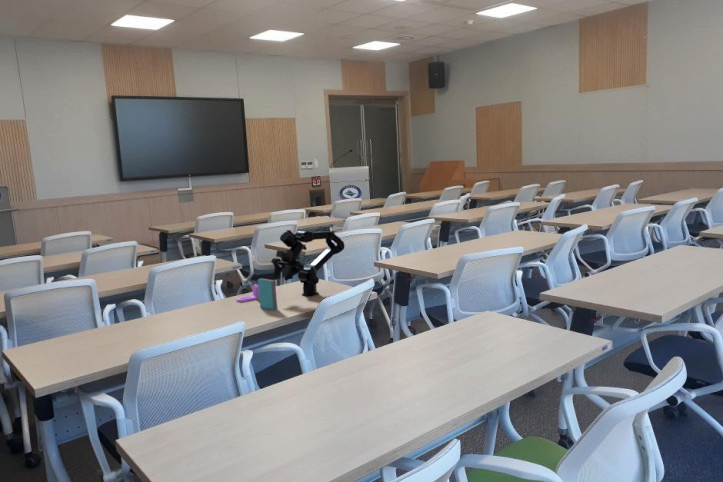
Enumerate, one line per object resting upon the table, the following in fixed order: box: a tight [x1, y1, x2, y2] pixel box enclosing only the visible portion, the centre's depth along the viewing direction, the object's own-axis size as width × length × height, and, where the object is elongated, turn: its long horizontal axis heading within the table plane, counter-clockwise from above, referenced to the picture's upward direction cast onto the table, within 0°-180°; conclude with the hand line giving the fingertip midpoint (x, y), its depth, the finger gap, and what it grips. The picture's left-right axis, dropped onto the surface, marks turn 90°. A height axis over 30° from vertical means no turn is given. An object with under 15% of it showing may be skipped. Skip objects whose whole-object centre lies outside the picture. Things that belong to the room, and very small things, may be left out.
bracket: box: [235, 283, 259, 303], centre depth 288 cm, size 13×6×7 cm, turn 114°
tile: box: [257, 278, 278, 311], centre depth 269 cm, size 2×10×14 cm, turn 50°
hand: (279, 279), depth 275 cm, fingers open, 8 cm apart
